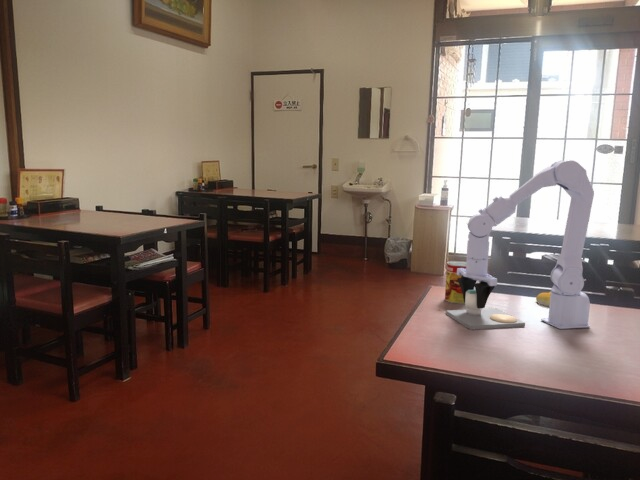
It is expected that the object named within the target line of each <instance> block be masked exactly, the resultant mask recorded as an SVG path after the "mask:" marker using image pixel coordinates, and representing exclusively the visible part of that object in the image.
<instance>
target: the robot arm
mask: <svg viewBox="0 0 640 480" xmlns="http://www.w3.org/2000/svg"><path fill="white" fill-rule="evenodd" d="M587 174H588V173H587V170H586V169H585V168H584V167H583V166H582V165H581V164H580V163H579V162H577V161H575V160H571V159H569V160H568V159H567V160H557V161H555V162H554V163H552V164H551V165H550V166H547V167H545V168H543V169H542V170H540V171H539V172H537V173H536V174H535V175H533V176H532V177H531V178H530V179H528V180H527V181H526V182H525V183H523V184H522V185H521V186H519V188H518V189H517V188H516V189H515V191H514V192H512V193H511V194H509V195H508V196H506V195H500V196H499V197H497V196H495V197H494V198H492V202H491V203H490V204H488V205H487V206H486V207H484V208H483V209H482V208H480V209H479V210H478V213H479V214H474V215H472V216H471V217H470V218H469V220H468V222H467V228H468V230H469V232H468V235H467V238H468V240H467V246H466V247H467V248H466V260H465V262H466V269H464V268H457V275H461V276H462V277H461V278H458V279H457V281H458V283H459V285H460V287H461V290H462V294H463V299H464V303H465V297H466V291H468V290H476V295H477V308H479V309H480V308H483V309H486V308H485V307H486V305H487V302H488V299H489V298H490V297H489V296H490V295H491V293H492V292H493V290H494V289H495V287H496V286H498V278H497V277H494V276H492V275H490V274H488V266H489V251H490V241H489V239H490V234H491V232H492V230H493V228H494V227H497V226H499V225H500V224H501V223H503V222H504V221H505V220H507V219H508V218H510V217H511V216H512V215H513V214H515V213H516V208H517V206H518V205H519V204H520V203H522V202H524V201H525V200H527V199H528V198H529V197H531V196H533V195H534V194H536V193H537V192H538V191H540V190H542V189H543V188H548V187H555V186H559V187H561V188H562V189H563V190H564V192H566V194H567V195H569V196H570V203H569V207H568V214H567V219H566V223H565V229H564V234H563V235H564V236H563V239H562V246H561V251H560V255H559V256H558V258H557V260H556V264H555V267H553V269H552V270H551V272H550V280H551V282H552V284H553V286H552V287H551V288H550V292H551V295H550V306H548V307H549V308H548V317H542V318H540V321H542V322H544V323H546V324H548V325H551V326H552V327H554V328H557V329H559V330H566V329H580V328H581V329H582V328H590V327H591V325H590V324H589V316H590V307H591V303H590V298H589V296H588V294H586V293H585V292H582V290H583V288H584V286H585V280H584V277H583V269H584V268H583V267H584V266H583V263H582V262H583V261H582V257H583V252H584V246H585V244H586V243H585V242H586V238H587V232H588V227H589V221H590V217H591V211H592V210H591V209H592V205H593V200H594V197H595V190H594V189H593V186H592V184H591V181H590V179H589V176H588V175H587ZM477 282H478V283H477Z"/></svg>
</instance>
